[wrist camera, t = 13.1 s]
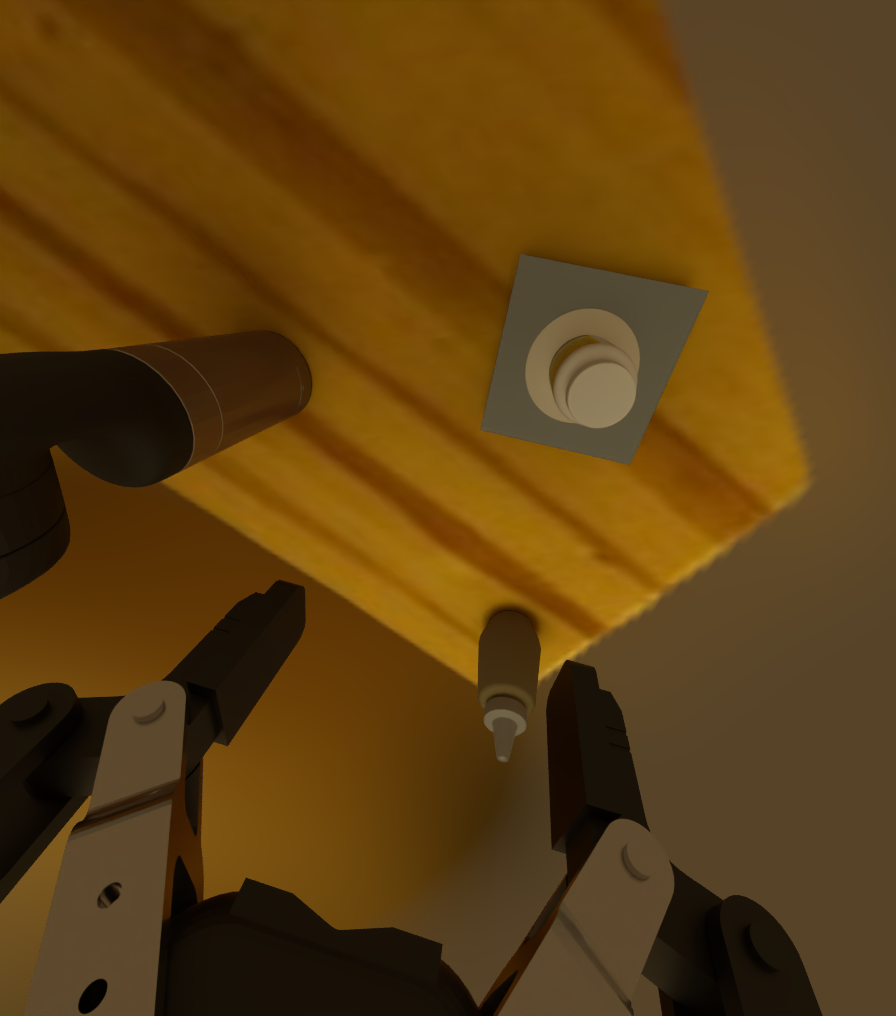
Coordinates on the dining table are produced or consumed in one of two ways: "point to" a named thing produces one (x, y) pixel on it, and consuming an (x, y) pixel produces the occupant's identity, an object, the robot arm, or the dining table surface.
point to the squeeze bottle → (507, 677)
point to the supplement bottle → (592, 381)
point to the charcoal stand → (574, 312)
